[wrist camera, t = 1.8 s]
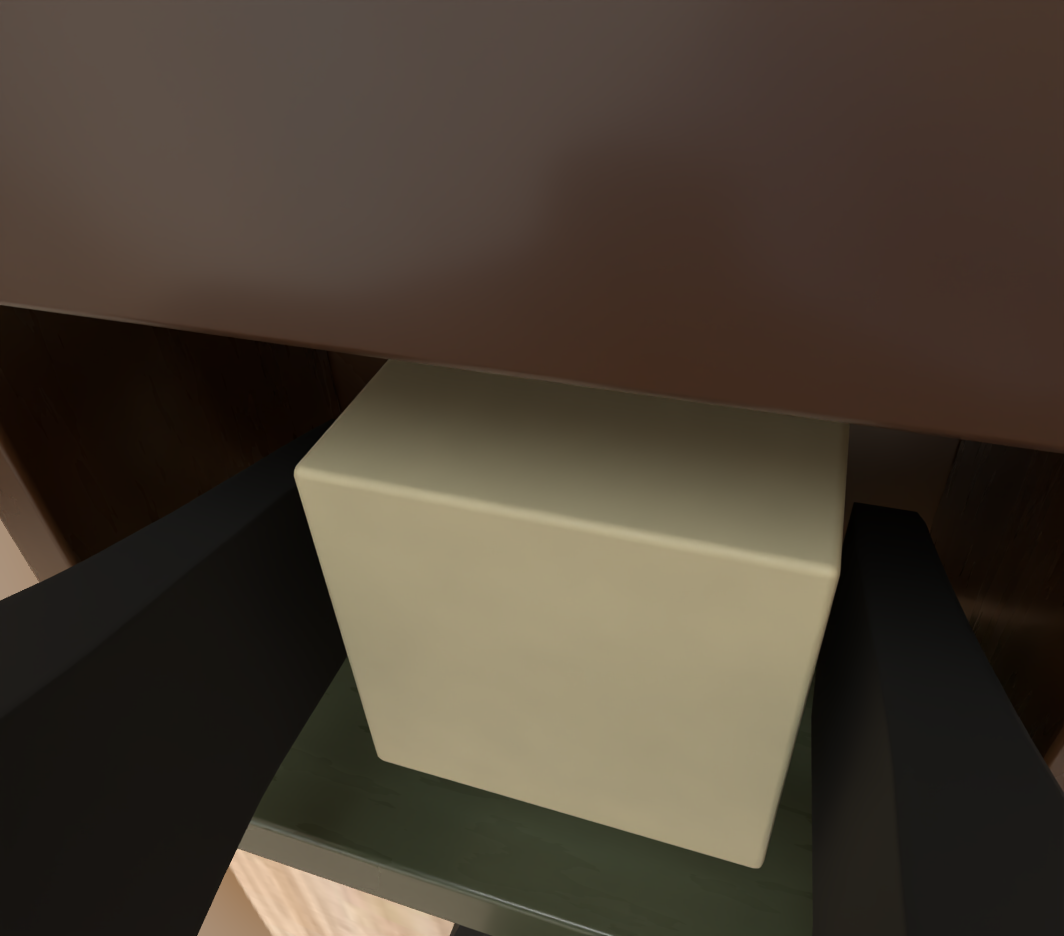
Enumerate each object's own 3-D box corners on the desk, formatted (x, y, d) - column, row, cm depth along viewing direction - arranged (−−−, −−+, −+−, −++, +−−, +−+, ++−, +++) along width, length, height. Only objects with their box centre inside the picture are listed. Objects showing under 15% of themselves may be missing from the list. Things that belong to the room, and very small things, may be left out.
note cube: (803, 521, 12) (761, 874, 8) (527, 473, 14) (376, 761, 10) (861, 244, 10) (841, 574, 6) (510, 216, 11) (287, 469, 7)
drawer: (902, 799, 17) (907, 1202, 12) (379, 666, 21) (220, 940, 16) (1395, -313, 7) (2856, -594, 2) (147, -213, 10) (-567, -208, 5)
